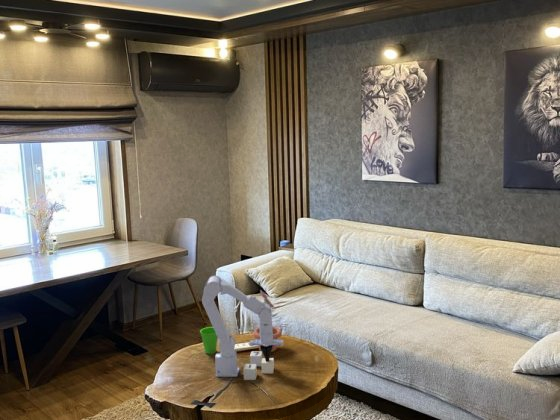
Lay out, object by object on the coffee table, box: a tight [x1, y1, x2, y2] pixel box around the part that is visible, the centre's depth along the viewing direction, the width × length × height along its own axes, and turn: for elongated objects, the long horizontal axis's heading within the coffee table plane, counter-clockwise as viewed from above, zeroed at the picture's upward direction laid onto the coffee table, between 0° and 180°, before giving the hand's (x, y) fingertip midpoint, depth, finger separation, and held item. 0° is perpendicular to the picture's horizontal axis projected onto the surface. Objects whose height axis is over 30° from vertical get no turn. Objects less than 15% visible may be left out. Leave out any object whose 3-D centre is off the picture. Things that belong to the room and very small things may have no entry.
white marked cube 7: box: [249, 350, 263, 367], centre depth 259 cm, size 5×5×5 cm
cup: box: [199, 326, 218, 355], centre depth 274 cm, size 9×9×11 cm
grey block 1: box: [243, 363, 258, 381], centre depth 247 cm, size 5×5×5 cm
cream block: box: [260, 357, 275, 374], centre depth 252 cm, size 5×5×5 cm
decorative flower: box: [252, 289, 283, 353], centre depth 272 cm, size 15×14×30 cm
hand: (267, 360), depth 252 cm, fingers closed, pressing on cream block
